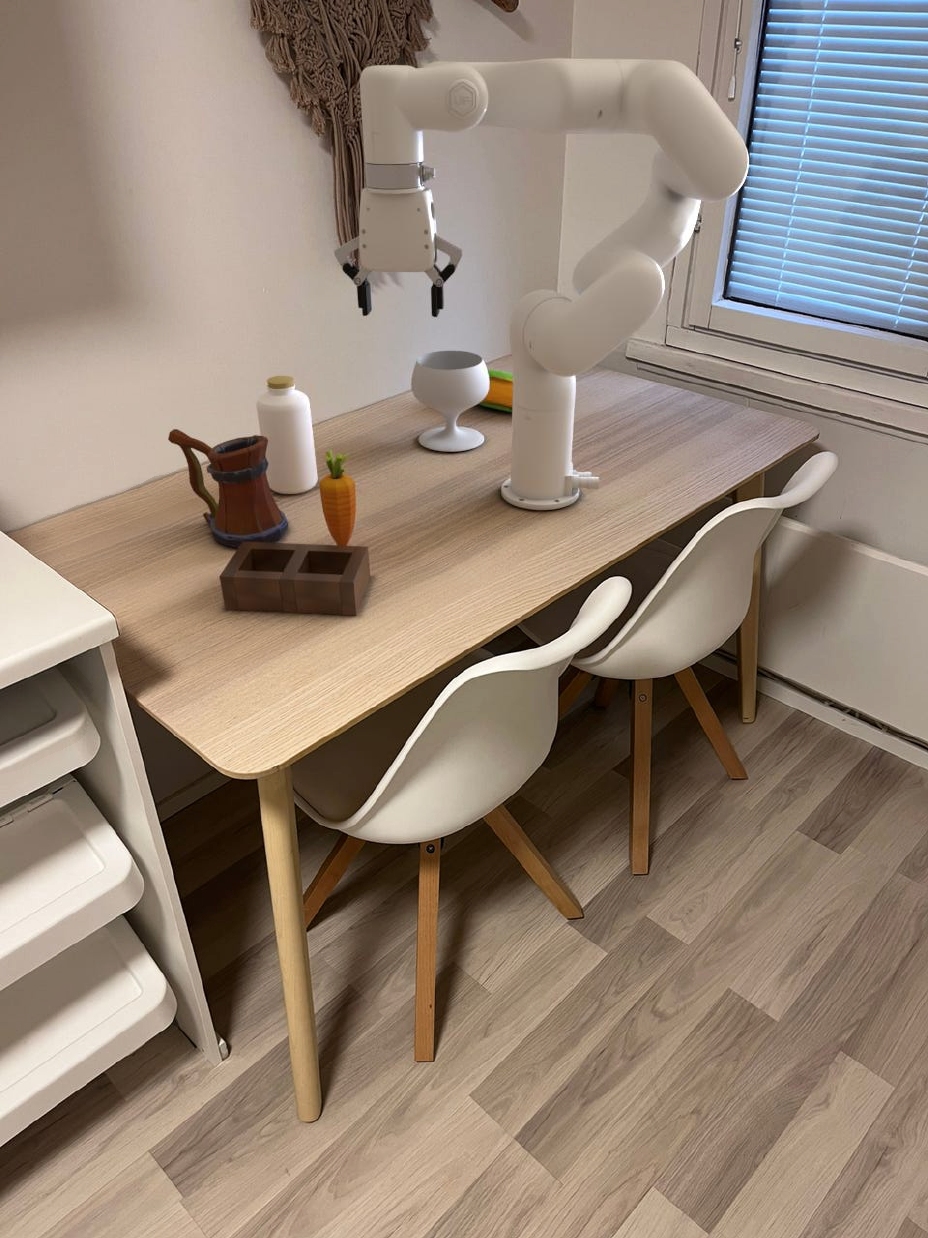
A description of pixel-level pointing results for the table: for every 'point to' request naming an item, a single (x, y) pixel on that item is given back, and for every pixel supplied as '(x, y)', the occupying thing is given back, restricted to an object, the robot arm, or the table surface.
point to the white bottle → (287, 437)
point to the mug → (235, 489)
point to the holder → (296, 578)
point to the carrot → (338, 500)
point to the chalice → (450, 395)
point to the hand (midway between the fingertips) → (401, 313)
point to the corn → (499, 391)
